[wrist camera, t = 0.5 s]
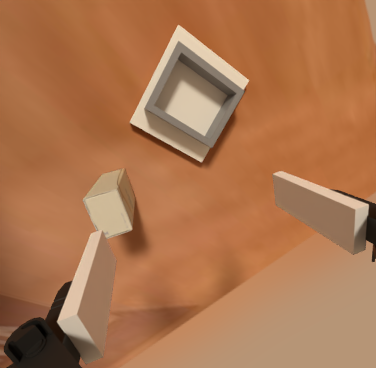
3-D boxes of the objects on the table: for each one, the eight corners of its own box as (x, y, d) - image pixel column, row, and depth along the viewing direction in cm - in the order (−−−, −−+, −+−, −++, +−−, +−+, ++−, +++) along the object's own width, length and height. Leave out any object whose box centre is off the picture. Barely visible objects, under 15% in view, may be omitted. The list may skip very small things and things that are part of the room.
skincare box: (135, 198, 39) (135, 231, 28) (112, 205, 38) (101, 242, 27) (124, 166, 37) (118, 188, 26) (99, 173, 36) (81, 199, 25)
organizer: (129, 122, 35) (128, 123, 30) (176, 28, 32) (182, 13, 28) (199, 161, 40) (207, 166, 35) (244, 81, 37) (260, 76, 32)
